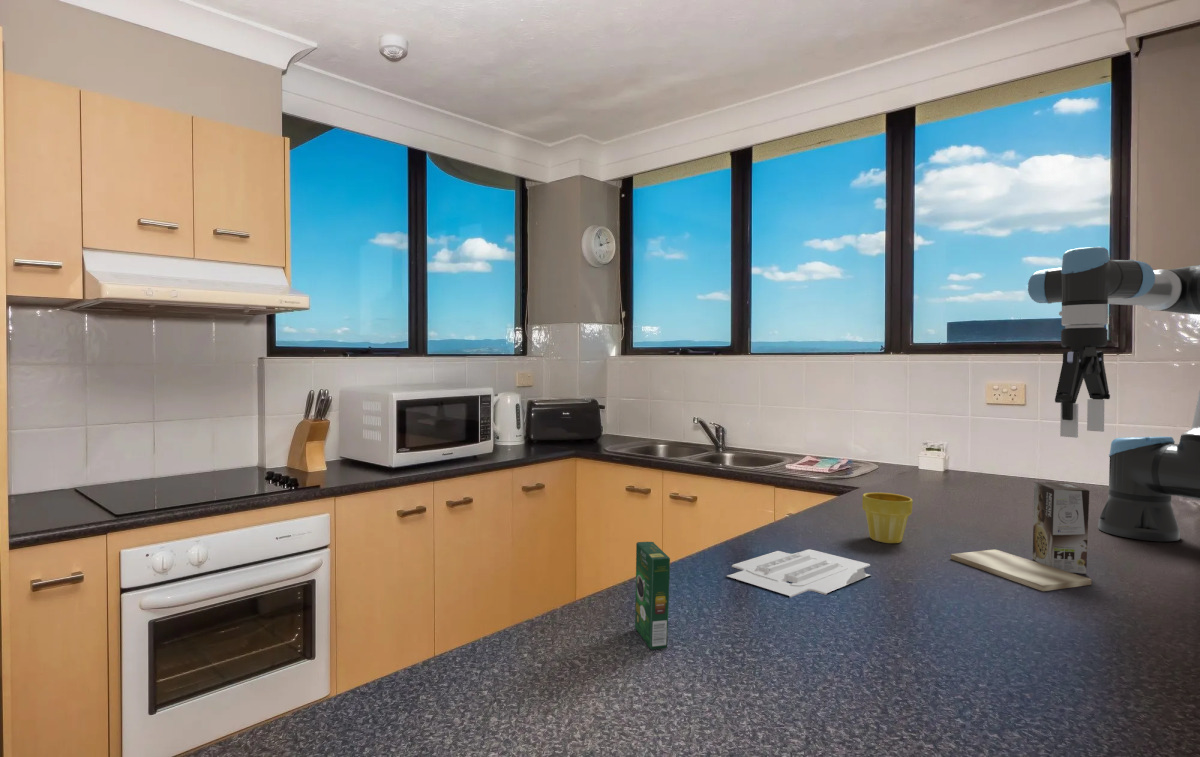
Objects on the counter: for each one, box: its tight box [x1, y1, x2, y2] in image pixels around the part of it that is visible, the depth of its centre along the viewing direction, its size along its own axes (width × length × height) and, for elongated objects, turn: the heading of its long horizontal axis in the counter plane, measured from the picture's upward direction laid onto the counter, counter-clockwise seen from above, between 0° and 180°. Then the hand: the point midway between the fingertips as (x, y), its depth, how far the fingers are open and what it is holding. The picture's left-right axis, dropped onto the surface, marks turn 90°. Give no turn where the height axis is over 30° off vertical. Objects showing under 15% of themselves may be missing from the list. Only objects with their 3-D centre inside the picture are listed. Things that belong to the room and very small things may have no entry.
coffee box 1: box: [634, 541, 671, 651], centre depth 97 cm, size 8×3×13 cm, turn 13°
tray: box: [725, 549, 872, 598], centre depth 129 cm, size 20×28×4 cm
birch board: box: [950, 549, 1093, 592], centre depth 131 cm, size 12×20×1 cm, turn 19°
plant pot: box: [861, 492, 914, 544], centre depth 153 cm, size 10×10×10 cm
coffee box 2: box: [1032, 481, 1091, 575], centre depth 134 cm, size 9×6×16 cm
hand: (1082, 434), depth 135 cm, fingers open, 13 cm apart
